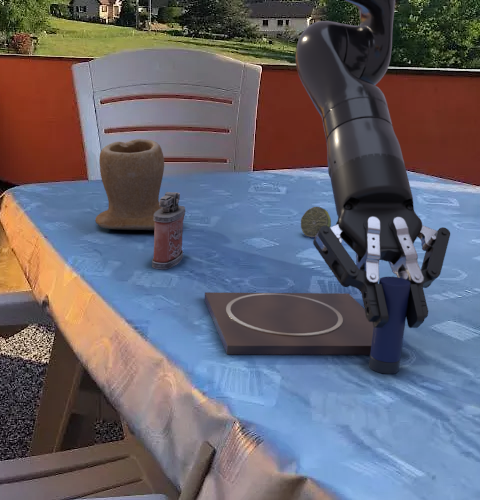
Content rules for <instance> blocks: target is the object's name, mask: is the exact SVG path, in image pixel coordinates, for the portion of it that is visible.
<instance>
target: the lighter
mask: <svg viewBox="0 0 480 500" xmlns="http://www.w3.org/2000/svg"><path fill="white" fill-rule="evenodd" d="M180 195H181V193H180V192H177V191H175V192H174V191H172V192H171V191H166V192H164V195H163V196H161V197H160V198H159V207H163V208H161V209H159V210H157V211H156V212H155V213H154V218H153V220H154V221H155V230H153V231H154V233H153V234H154V235H153V237H154V239H153V258H152V260H151V267H152V268H153V269H156V270H169V269H171V268H174V267H175V266H177V265H178V264H179V263H180V262H181V261H182V259H183V257H184V250H183V232H184V220H183V215H184V213H185V214H186V207H185V206H184V205H180V204H179V202H180Z"/></svg>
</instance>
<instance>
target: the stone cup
mask: <svg viewBox="0 0 480 500" xmlns="http://www.w3.org/2000/svg"><path fill="white" fill-rule="evenodd" d="M98 160H99V172H100V178H101V181H102V185H103V188H104V191H105V193H106V197H107V200H108V208H107V209H106V210H103V211H102V212H100V213H99V214H97V215H96V217H95V224H96V225H98V226H99V227H100V228H103V229H107V230H120V231H121V230H122V231H155V221H154V220H153V218H154V213H155V212H156V211H157V210H159V209H161V208H163V207H159V200H160V190H161V188H162V187H161V186H162V183H163V176H164V170H165V158H164V153H163V150H162V147H161V146H160V144H159V143H158V142H157V141H155V140H152V139H144V138H136V139H132V140H129V141H125V142H122V141H115V142H112V143H109V144H107V145H105V146H103V148H102V149H101V151H100V153H99V159H98ZM185 215H186V212H185V213H184V215H183V221H184V219H185Z"/></svg>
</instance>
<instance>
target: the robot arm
mask: <svg viewBox="0 0 480 500" xmlns="http://www.w3.org/2000/svg"><path fill="white" fill-rule="evenodd" d="M344 1H345V2H347V3H350V4H352V5H354V6H356V7H357V9H358V11H359V19H360V20H359V25H353V24H346V23H342V22H341V23H340V22H336V21H330V20H319V21H316V22H314V23H311V24H310V25H308V26H307V27H306V28H305V29H304V31H302V33H301V35H300V37H298V41H297V44H296V48H295V66H296V70H297V74H298V77H299V79H300V81H301V84H302V86H303V87H304V89H305V91H306V93H307V95H308V96H309V98H310V100H311V101H312V104H313V106H314V107H315V109H316V111H317V112H318V114H319V116H320V118H321V122H322V126H323V131H324V136H325V143H326V155H327V156H326V157H327V158H326V160H327V173H328V176H329V178H330V183H331V184H330V185H331V190H332V196H333V200H334V205H335V211H336V215H337V221H336V223H335V225H333V226H332V225H331V227H328V226H322V227H321V228H320V230H319V231H318V233H317V235H316V237H314V238H313V240H312V244H313V246H314V247H315V249H316V251H318V253H319V255H320V256H321V258H322V259H323V261H324V262H325V263H326V265H327V266H328V268H329V270H330V271H331V272H332V274H333V276H334V277H335V279H336V280H337V281H338V283H339V284H340V286H342V287H344V288H349V287H352V288H355V289H357V290H358V291H359V292H360V293H361V294H360V295H361V298H362V303H363V308H364V309H365V314H366V318H367V319H368V321H369V322H373V326H374V328H383V327H384V325H385V324H386V323H387V322H388V320H389V316H388V311H387V306H386V301H385V296H384V291H383V286H382V284H379V280H380V261H384V262H388V264H389V267H390V269H391V272H392V273H393V274H394V275H395V276H396V277H399V278H403V279H406V280H408V281H409V282H410V283H411V285H410V292H409V299H408V307H407V314H406V323H407V326H408V328H409V329H418V328H419V327H420V326H421V325H423V323H424V322H425V320H426V318H427V317H428V315H429V307H428V303H427V299H426V295H425V291H424V289H428V288H429V287H430V286H431V285H432V284H433V282H434V281H435V280H436V279H438V278H439V277H440V275H441V273H442V268H443V265H444V261H445V256H446V253H447V250H448V245H449V242H450V238H451V231H450V229H448V228H446V227H439V228H438V230H436V229H434V228H431V227H428V226H426V225H424V224H423V221H422V220H421V217H419V216H418V214H417V213H416V211H415V208H414V196H413V192H412V189H411V185H410V180H409V176H408V172H407V169H406V165H405V160H404V156H403V153H402V148H401V145H400V142H399V139H398V137H397V135H396V133H395V131H394V126H393V122H392V117H391V113H390V109H389V107H388V102H387V99H386V97H385V96H386V95H385V94H384V92H383V91H382V90H381V89H380V87H378V86H377V85H378V83H380V81H381V80H382V79H383V78H384V76H385V75H386V73H387V71H388V69H389V66H390V63H391V60H392V59H391V58H392V47H393V27H394V19H395V17H394V16H395V6H396V0H344ZM417 238H418V239H419V240H420V244H421V245H420V246H421V250H422V251H424V252H425V253H424V257H423V260H422V264H421V267H420V264H419V262H418V258H419V257H418V256H419V255H418V252H417V250H416V247H415V245H414V243H415V242H416V241H417ZM343 242H344V243H345V244H346V245H347V246H348V247H349V248H350V249H351V250H352V251H353V252H354V253H355V260H356V261H354V260H353V258H352V256H351V255H350V254H349V252H348V251H347V249H346V248H345V247H344V245H343V244H342V243H343Z"/></svg>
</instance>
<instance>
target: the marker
mask: <svg viewBox="0 0 480 500" xmlns="http://www.w3.org/2000/svg"><path fill="white" fill-rule="evenodd" d="M378 284H382V286H383V291H384V296H385V301H386V306H387V311H388V316H389V320H388V322H387V323H386V324H385V325H384V327H383V328H374V327H373V336H372V344H371V352H370V355H369V360H368V367H369V368H370V369H371V370H372V371H374V372H376V373H379V374H384V375H385V374H386V375H392V374H397V373H398V372H399V370H400V363H401V359H402V358H401V355H402V349H403V342H404V335H405V328H406V322H407V319H406V314H407V307H408V299H409V292H410V285H411V283H410V282H409V281H408V280H406V279H403V278H399V277H397V276H382V277H379V280H378Z"/></svg>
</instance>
